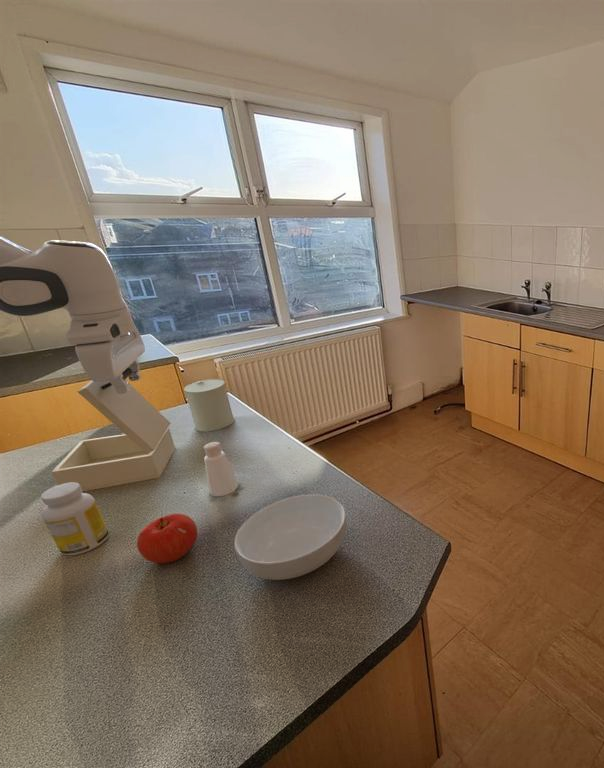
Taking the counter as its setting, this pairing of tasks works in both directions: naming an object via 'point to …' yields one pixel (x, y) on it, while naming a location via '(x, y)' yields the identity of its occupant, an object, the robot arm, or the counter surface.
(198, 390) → the can
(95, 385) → the box lid
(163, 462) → the cream open box
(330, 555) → the cereal bowl
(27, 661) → the counter surface
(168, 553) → the apple
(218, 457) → the salt shaker
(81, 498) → the pill bottle
